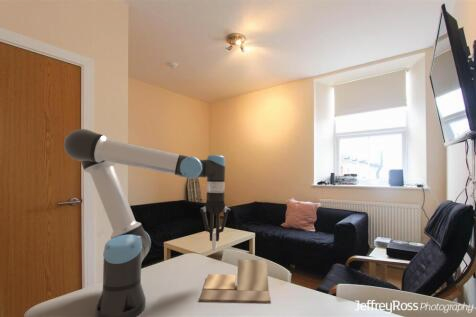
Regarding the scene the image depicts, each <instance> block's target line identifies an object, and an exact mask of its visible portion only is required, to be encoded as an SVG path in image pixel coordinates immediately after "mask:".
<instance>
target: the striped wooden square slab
mask: <svg viewBox="0 0 476 317" xmlns="http://www.w3.org/2000/svg"><path fill="white" fill-rule="evenodd" d="M236 282H237V275H236V274H217V273H216V274H215V273H214V274H213V273H211V274H210V273H208V274H207V277H206V279H205V283H204V285H203V288H202V291H203V290H236V289H235V288H236Z"/></svg>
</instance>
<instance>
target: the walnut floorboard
mask: <svg viewBox="0 0 476 317" xmlns="http://www.w3.org/2000/svg"><path fill="white" fill-rule="evenodd" d="M199 302H202V303H203V302H208V303H209V302H210V303H212V302H213V303H247V304H248V303H250V304H251V303H253V304H254V303H255V304H257V303H258V304H271V303H272V302H271V296H270V290H269V291H239V290H237V289H235V290H203V289H202V292H201V294H200V297H199Z"/></svg>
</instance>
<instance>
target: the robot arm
mask: <svg viewBox="0 0 476 317" xmlns="http://www.w3.org/2000/svg"><path fill="white" fill-rule="evenodd" d="M63 148H64V149H63V150H64V152H65V153H66V154H67V155H68V157H70V158H71V159H72V160H74V161H78V162H80V163H81V166H82V168H83V171H84V172H86V173H88V174H90V176H91V178H92V181H93V183H94V186H95V189H96V190H97V193H98V195H99V198H100V201H101V204H102V207H103V209H104V211H105V213H106V216H107V218H108V222H109V223H110V226H111V228H112V233H111V236H110V239H108V241H107V242H106V243H105V245H104V246H103V247H104V249H103V256H102V257H103V268H102V269H103V270H102V272H103V273H102V290H101V292H100V296H99V299H98V302H97V304H96V306H95V307H96V308H95V317H137V316H138V315H140V314H141V313H142V312H143V311H144V310H145V308H146V299H147V298H146V296H145V293H144V289H143V286H142V282H141V281H142V262H144V261H143V260H144V259H145V258H146V257H147V256H148V254H149V252H150V249H151V245H152V241H151V240H152V239H151V237H150V235H149V234H148V232H147V231H145V229H144V227H143V225H142V223H141V222H139V221H136V219H135V216H134V213H133V211H132V208H131V205H130V203H129V200H128V198H127V196H126V193H125V191H124V188H123V186H122V183H121V181H120V178H119V175H118V173H117V171H116V169H115V165H116V164H120V165H124V166H128V167H129V166H130V167H135V168H138V169H139V168H140V169H143V170H144V169H145V170H148V171H149V170H150V171H155V172H158V173H159V172H160V173H164V174H170V175H173V176H178V177H180V178H187V179H190V180H192V179H195V178H206V191H207V192H206V200H205V201H206V202H205V205H204V206H203V207H200V209H199V212H200V213H201V216H202V220H203V221H202V222H203V225H204V230H205V232H206V233H209V242H211V250H212V251H216V250H217V244H218V243H217V242H219V241H220V233H223V232H224V229H225V225H226V223H227V219H228V214H230V212H231V208H229V207H228V206H227V205H226V204H225V188H226V187H225V182H226V179H225V178H226V158H225V156H223V155H220V154H209V155H207V158H206V159H199V158H197V157H195V156H189V155H183V154H178V153H174V152H169V151H164V150H159V149H155V148H150V147H146V146H142V145H141V146H140V145H137V144H132V143H127V142H123V141H118V140H112V139H109V138H108V137H107V135H104V134H101V133H96V132H94V131H92V130H90V129H83V128H81V129H76V130H75V129H74V130H73V131H71V132H70V133H69V134H67V135H66V137H65V138H64V142H63ZM223 210H224V212H223ZM207 212H208V213H209V221H208V218H207ZM222 212H223V213H224V215H223V220H222V222H221V221H220V220H221V218H220V217H221V213H222ZM214 216H215V218H216V219H214ZM214 222H215V223H214ZM220 222H221V225H220ZM214 224H215V226H214ZM214 227H215V231H214Z"/></svg>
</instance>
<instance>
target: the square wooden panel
mask: <svg viewBox="0 0 476 317" xmlns="http://www.w3.org/2000/svg"><path fill="white" fill-rule="evenodd" d="M236 282H237V283H236V290H239V291H269V292H270V290H269V275H268V260H267V259H237V275H236Z"/></svg>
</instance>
